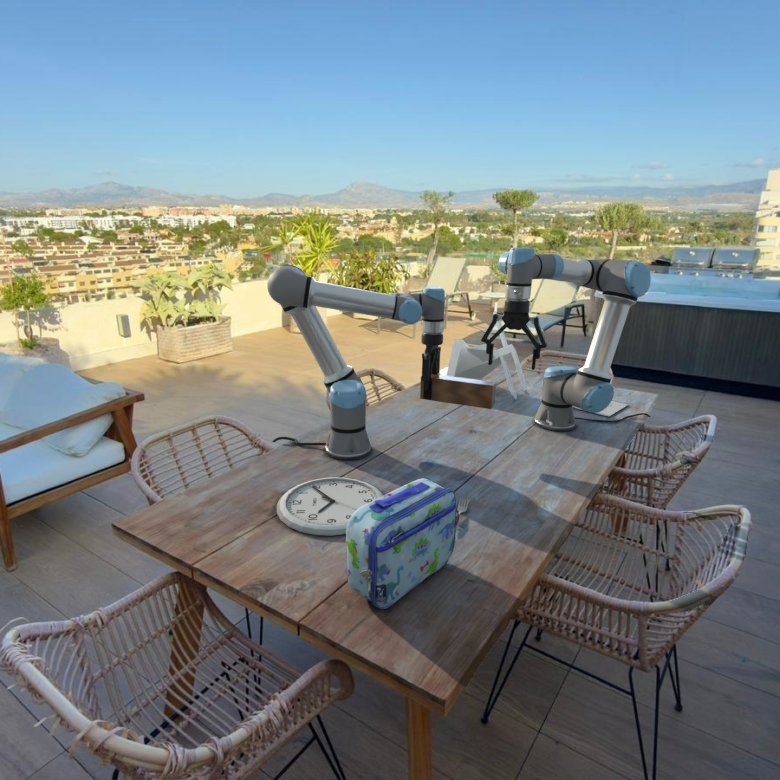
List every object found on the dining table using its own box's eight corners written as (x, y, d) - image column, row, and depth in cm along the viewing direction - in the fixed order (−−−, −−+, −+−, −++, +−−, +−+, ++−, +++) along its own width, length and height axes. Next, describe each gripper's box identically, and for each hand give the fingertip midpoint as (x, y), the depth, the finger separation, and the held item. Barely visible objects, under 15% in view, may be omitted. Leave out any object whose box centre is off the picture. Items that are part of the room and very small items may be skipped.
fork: (445, 533, 130) (445, 526, 130) (459, 503, 145) (460, 496, 144) (455, 535, 130) (456, 528, 129) (469, 504, 144) (469, 498, 143)
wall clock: (392, 527, 129) (268, 531, 127) (391, 533, 130) (269, 537, 127) (383, 473, 158) (282, 475, 155) (383, 478, 158) (282, 480, 156)
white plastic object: (461, 429, 252) (437, 405, 227) (444, 352, 274) (420, 323, 250) (535, 404, 240) (518, 377, 215) (510, 326, 262) (492, 293, 237)
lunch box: (375, 622, 100) (376, 527, 94) (339, 595, 108) (338, 505, 101) (459, 565, 118) (465, 481, 112) (424, 545, 125) (427, 465, 119)
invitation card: (608, 416, 214) (573, 407, 224) (608, 416, 214) (573, 408, 224) (628, 404, 229) (594, 396, 238) (628, 405, 229) (594, 397, 238)
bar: (494, 405, 182) (496, 381, 179) (491, 409, 178) (492, 385, 175) (424, 395, 192) (425, 373, 189) (420, 398, 188) (420, 376, 185)
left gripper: (430, 327, 191) (428, 388, 198) (412, 336, 175) (411, 401, 182) (450, 329, 188) (447, 391, 195) (434, 338, 172) (431, 405, 179)
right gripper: (474, 298, 162) (470, 364, 168) (558, 303, 153) (550, 373, 159) (480, 295, 168) (475, 359, 175) (560, 300, 160) (553, 367, 166)
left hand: (429, 396), depth 188 cm, fingers closed on bar, 5 cm apart
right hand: (511, 366), depth 167 cm, fingers open, 13 cm apart
